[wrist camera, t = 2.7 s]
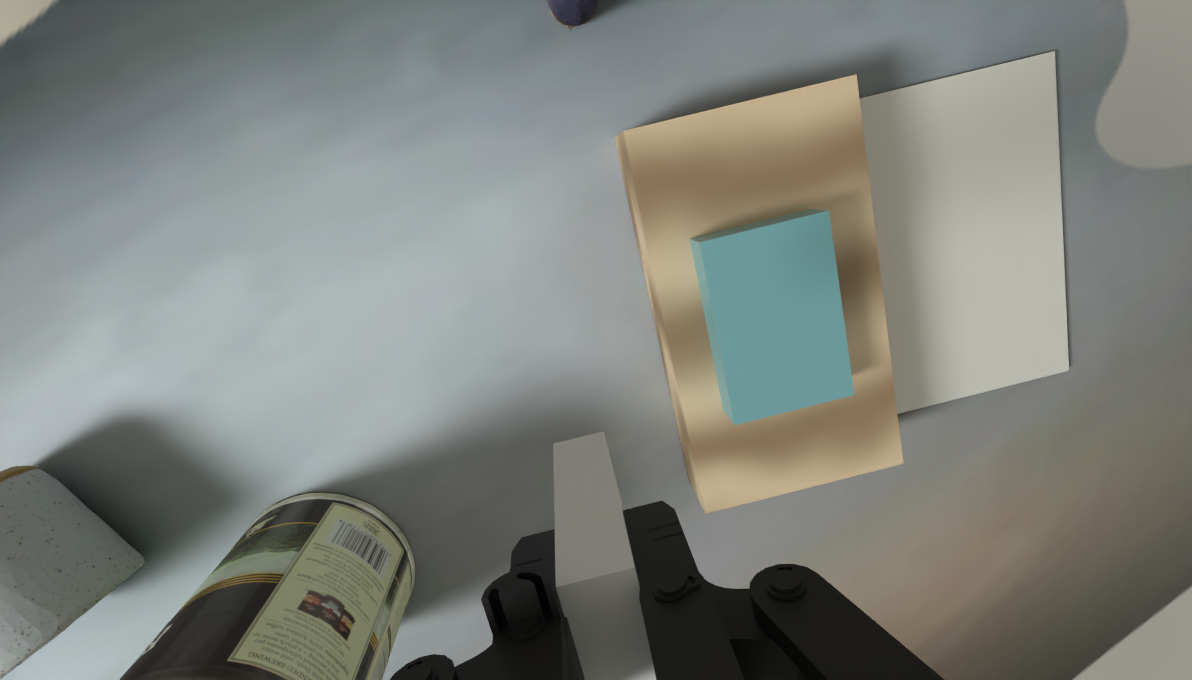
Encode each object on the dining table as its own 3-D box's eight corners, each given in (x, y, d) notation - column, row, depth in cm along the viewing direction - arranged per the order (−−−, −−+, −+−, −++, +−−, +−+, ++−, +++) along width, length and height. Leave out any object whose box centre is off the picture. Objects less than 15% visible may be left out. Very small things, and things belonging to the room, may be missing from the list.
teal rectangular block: (835, 382, 32) (854, 395, 30) (723, 410, 32) (734, 425, 30) (810, 208, 30) (829, 210, 28) (689, 238, 30) (699, 242, 28)
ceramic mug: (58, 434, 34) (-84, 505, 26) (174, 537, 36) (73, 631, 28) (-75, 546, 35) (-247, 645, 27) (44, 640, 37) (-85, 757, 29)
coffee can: (224, 627, 37) (37, 882, 24) (253, 473, 35) (66, 655, 21) (397, 659, 39) (315, 917, 25) (434, 513, 37) (368, 707, 23)
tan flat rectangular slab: (866, 435, 37) (903, 463, 34) (689, 480, 37) (705, 513, 33) (819, 87, 32) (856, 74, 29) (614, 137, 32) (623, 130, 28)
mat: (1064, 369, 37) (1068, 370, 37) (872, 417, 37) (874, 419, 37) (1050, 52, 33) (1054, 50, 33) (831, 105, 33) (833, 104, 32)
